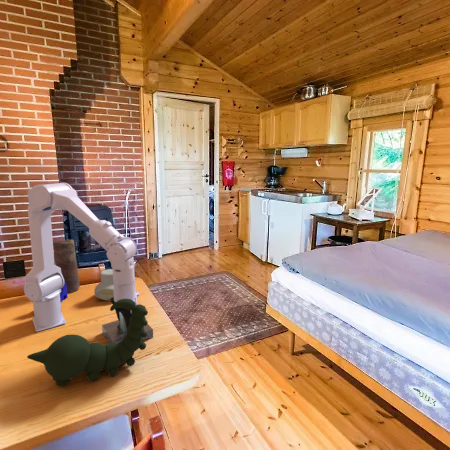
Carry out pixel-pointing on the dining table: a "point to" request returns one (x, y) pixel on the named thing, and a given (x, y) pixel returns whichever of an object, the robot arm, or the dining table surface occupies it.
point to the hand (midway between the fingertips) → (127, 325)
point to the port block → (115, 335)
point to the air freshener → (105, 286)
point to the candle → (67, 263)
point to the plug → (122, 324)
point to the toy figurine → (94, 350)
